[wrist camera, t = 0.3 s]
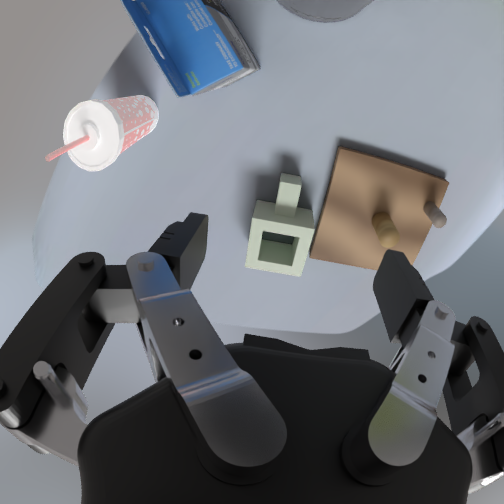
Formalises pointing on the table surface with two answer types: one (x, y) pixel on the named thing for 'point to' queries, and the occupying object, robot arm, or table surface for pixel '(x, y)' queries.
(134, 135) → the beverage cup
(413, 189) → the locating plate
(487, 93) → the table surface
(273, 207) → the square ring with handle
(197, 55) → the label tape box
